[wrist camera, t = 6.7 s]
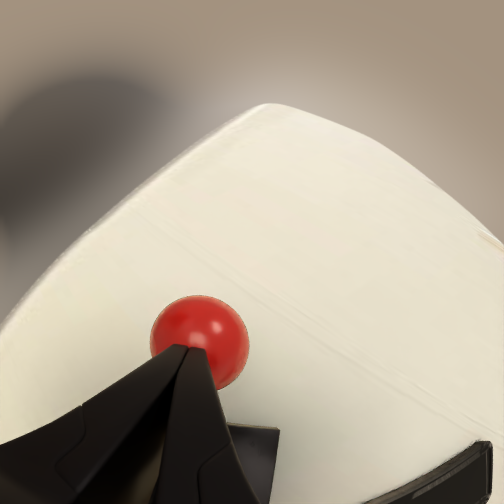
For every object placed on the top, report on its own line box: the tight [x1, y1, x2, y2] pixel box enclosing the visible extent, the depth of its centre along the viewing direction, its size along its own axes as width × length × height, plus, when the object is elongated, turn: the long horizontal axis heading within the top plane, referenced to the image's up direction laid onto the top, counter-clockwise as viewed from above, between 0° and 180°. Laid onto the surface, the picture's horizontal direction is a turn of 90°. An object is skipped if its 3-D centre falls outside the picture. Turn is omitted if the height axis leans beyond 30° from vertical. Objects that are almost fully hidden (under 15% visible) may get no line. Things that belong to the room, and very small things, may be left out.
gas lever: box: [150, 295, 249, 390], centre depth 8 cm, size 13×3×3 cm, turn 173°
